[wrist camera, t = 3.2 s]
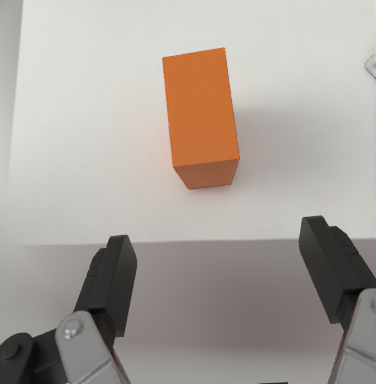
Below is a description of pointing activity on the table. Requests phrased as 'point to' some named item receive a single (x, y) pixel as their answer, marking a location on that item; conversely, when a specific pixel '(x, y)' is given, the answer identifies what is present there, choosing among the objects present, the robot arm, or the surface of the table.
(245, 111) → the table surface
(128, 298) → the robot arm
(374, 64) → the ink box
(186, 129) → the block
